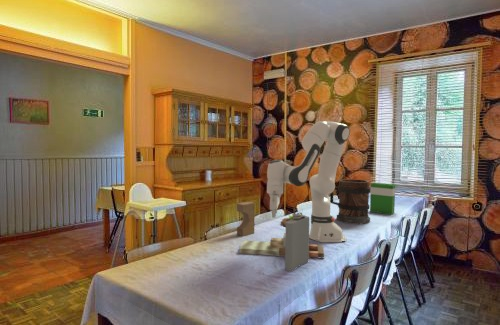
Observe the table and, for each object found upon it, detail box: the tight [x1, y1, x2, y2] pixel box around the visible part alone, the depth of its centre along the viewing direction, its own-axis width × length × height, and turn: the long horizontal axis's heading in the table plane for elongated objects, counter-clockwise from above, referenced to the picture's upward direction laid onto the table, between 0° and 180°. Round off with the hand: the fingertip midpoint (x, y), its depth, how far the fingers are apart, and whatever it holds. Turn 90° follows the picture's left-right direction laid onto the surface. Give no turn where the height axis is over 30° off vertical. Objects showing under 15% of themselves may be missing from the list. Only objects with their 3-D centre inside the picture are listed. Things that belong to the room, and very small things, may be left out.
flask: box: [284, 213, 310, 272], centre depth 157 cm, size 17×5×25 cm, turn 140°
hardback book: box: [369, 182, 396, 215], centre depth 276 cm, size 18×7×24 cm, turn 52°
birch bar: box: [269, 237, 283, 248], centre depth 177 cm, size 16×4×4 cm, turn 81°
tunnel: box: [283, 232, 286, 249], centre depth 177 cm, size 8×8×6 cm
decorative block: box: [236, 201, 256, 237], centre depth 210 cm, size 11×6×20 cm, turn 134°
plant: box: [280, 208, 303, 228], centre depth 237 cm, size 20×20×11 cm
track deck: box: [239, 240, 325, 258], centre depth 178 cm, size 44×14×2 cm, turn 81°
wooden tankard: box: [329, 178, 371, 225], centre depth 249 cm, size 24×30×30 cm
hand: (274, 215), depth 177 cm, fingers open, 8 cm apart
